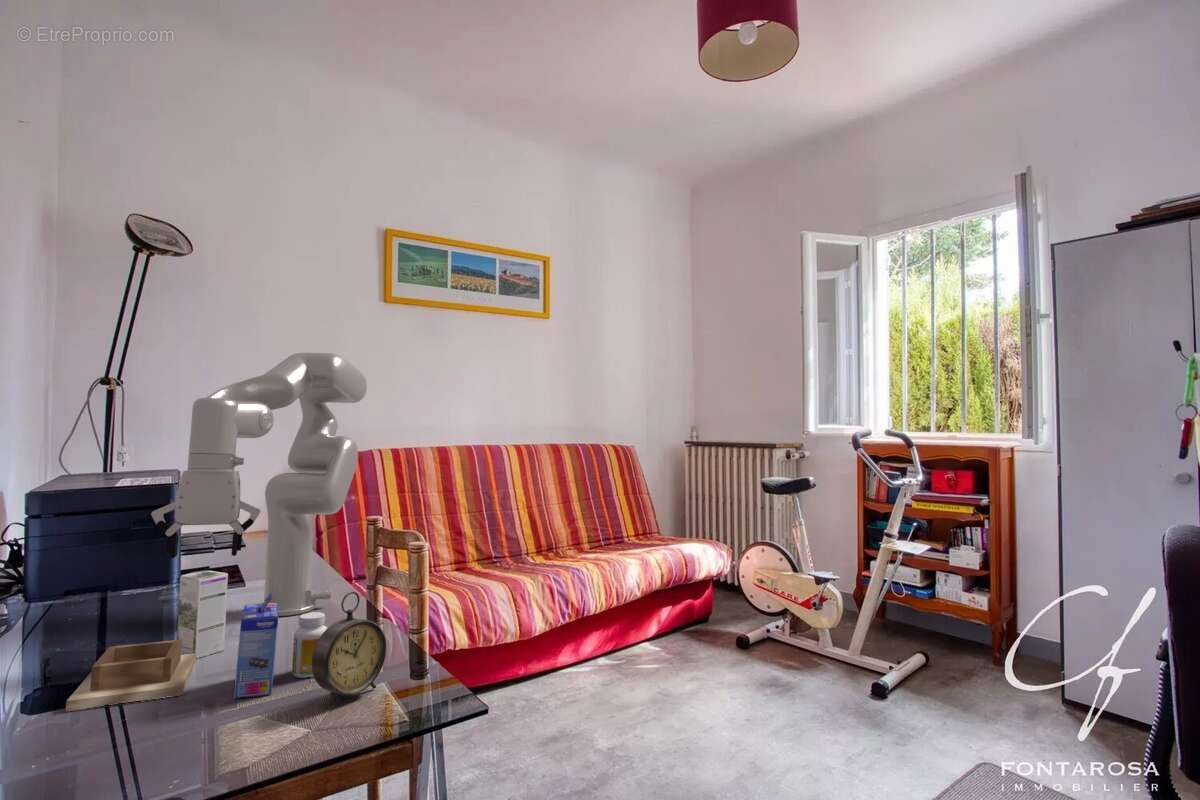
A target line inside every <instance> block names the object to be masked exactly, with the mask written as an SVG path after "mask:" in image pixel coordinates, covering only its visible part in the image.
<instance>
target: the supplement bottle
mask: <svg viewBox="0 0 1200 800" xmlns="http://www.w3.org/2000/svg"><path fill="white" fill-rule="evenodd" d="M325 619H326V614H325V613H323V612H319V611H317V612H315V611H314V612H312V611H311V612H305V613H301V615H300V616H299V620H298V625H299V627H298V628H297V629H296V630H295V631H294V635H293V645H292V646H293V649H292V666H291V670H292V671H291V673H292V676H293V677H295V678H300V679H308V678H307V677H310V678H314V676H313V672H312V656H313V652H314V649H315V646H316V644H317V642H318V640H319V638H320V637H321V635H322V634H323V633H324V631H325V630H326V629H327V628H328V626H326V625H324V624H325V621H326V620H325Z"/></svg>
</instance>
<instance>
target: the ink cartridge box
mask: <svg viewBox="0 0 1200 800" xmlns="http://www.w3.org/2000/svg"><path fill="white" fill-rule="evenodd" d="M271 598H272V592H271V593H270V594H269V596H268V597H267V598H266V600H265V602H264V601H263V602H264V603H263V602H261V603H250V604H244V606H243V610H242V615H241V620H240V627H239V628H240V629H239V636H238V637H239V638H238V647H237V648H238V649H237V658H236V660H237V661H236V671H235V682H234V692H233V699H244V698H243V697H245V698H252V697H254V698H255V697H263V696H270V695H272V691H273V681H274V674H275V665H276V653H277V641H278V628H279V616H278V603H269V602H270V600H271ZM241 697H242V698H241Z"/></svg>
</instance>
